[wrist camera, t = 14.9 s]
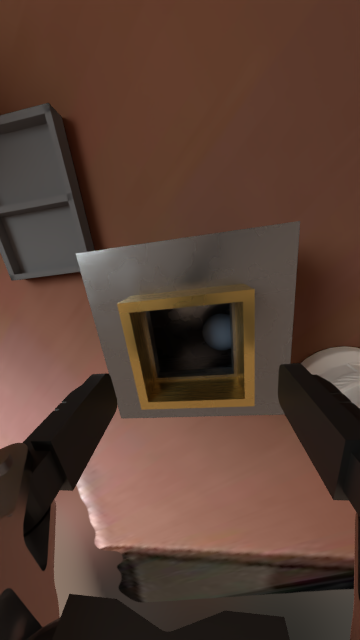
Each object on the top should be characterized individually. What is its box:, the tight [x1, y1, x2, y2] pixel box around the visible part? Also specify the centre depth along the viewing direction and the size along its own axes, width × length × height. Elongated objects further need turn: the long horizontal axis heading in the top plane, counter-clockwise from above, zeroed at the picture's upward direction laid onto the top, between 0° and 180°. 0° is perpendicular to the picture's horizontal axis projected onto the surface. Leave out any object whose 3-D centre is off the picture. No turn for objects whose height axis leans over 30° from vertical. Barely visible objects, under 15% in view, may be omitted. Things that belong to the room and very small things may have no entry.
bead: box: [202, 313, 231, 351], centre depth 20 cm, size 4×4×4 cm
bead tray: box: [0, 103, 95, 280], centre depth 19 cm, size 10×14×2 cm
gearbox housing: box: [76, 221, 300, 418], centre depth 17 cm, size 14×17×11 cm
